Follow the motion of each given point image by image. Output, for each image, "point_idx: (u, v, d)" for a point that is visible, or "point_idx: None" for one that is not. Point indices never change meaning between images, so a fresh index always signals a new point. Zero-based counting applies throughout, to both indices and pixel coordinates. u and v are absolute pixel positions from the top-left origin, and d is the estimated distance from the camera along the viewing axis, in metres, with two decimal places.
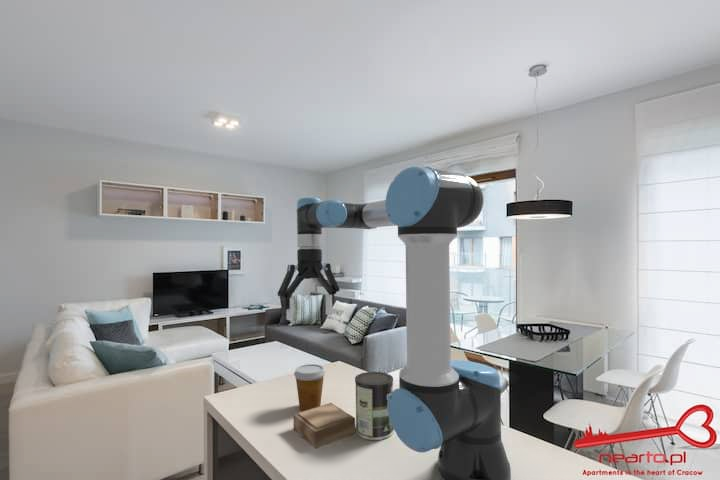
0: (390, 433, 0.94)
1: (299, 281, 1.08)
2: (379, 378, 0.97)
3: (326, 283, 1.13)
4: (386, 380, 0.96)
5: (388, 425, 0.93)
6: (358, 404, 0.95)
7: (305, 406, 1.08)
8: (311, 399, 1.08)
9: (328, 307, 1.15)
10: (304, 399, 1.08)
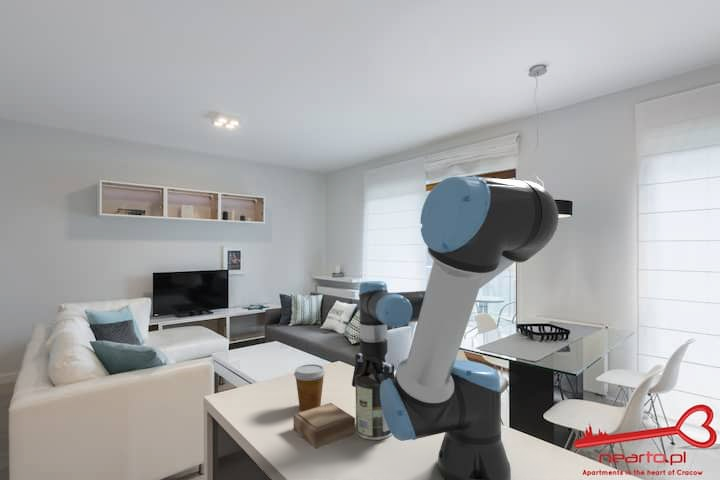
0: (390, 433, 0.94)
1: (362, 374, 0.99)
2: None
3: None
4: None
5: None
6: (358, 404, 0.95)
7: (305, 406, 1.08)
8: (311, 399, 1.08)
9: None
10: (304, 399, 1.08)
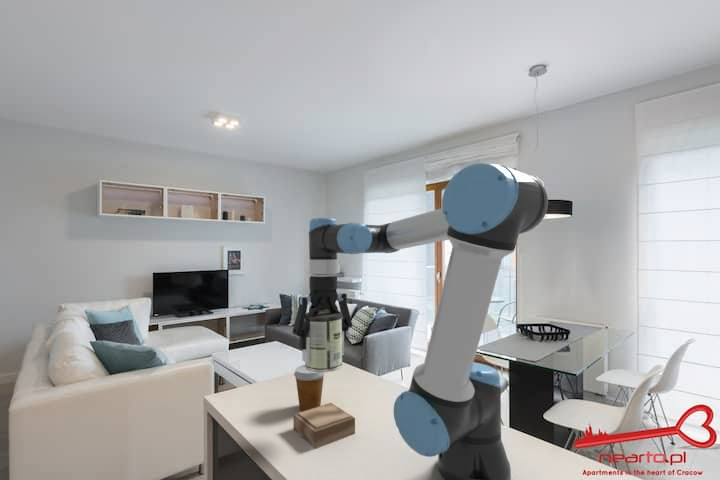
0: None
1: (314, 315, 0.95)
2: (324, 313, 0.99)
3: None
4: (330, 312, 1.01)
5: None
6: (331, 339, 0.93)
7: (305, 406, 1.08)
8: (311, 399, 1.08)
9: None
10: (304, 399, 1.08)
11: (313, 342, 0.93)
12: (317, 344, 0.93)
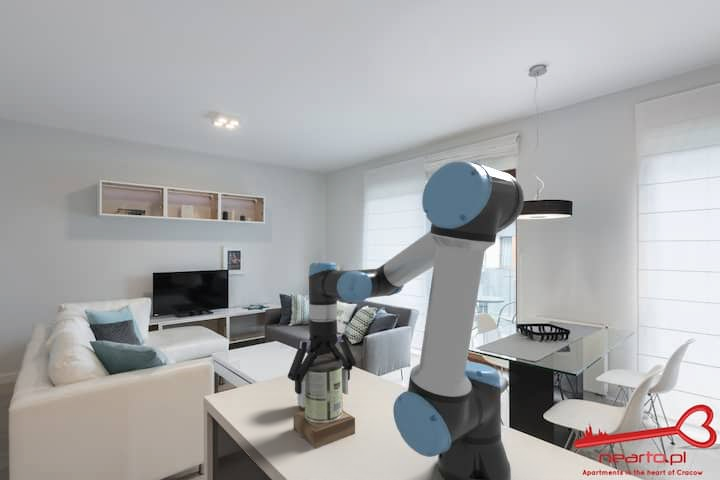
0: None
1: (312, 360, 0.94)
2: (324, 360, 0.99)
3: (341, 358, 0.99)
4: (330, 358, 1.01)
5: None
6: (332, 390, 0.93)
7: None
8: None
9: (343, 384, 1.01)
10: None
11: (313, 393, 0.93)
12: (317, 395, 0.92)
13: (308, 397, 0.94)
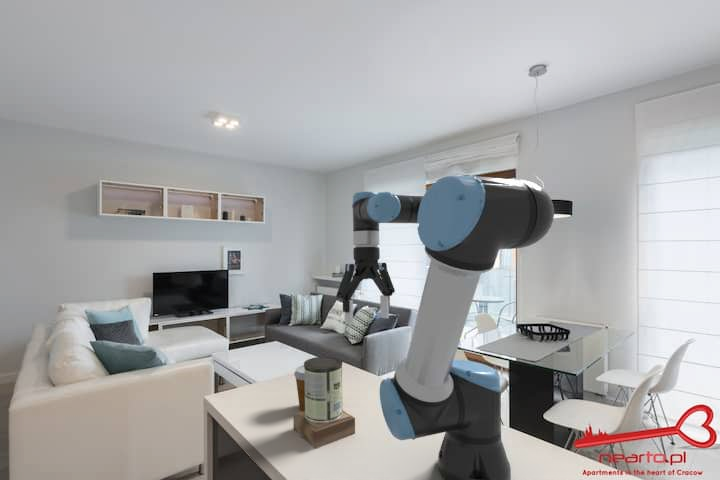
0: None
1: (358, 282, 1.00)
2: (323, 360, 0.99)
3: (383, 284, 1.06)
4: (330, 358, 1.01)
5: None
6: (331, 390, 0.93)
7: None
8: None
9: (384, 310, 1.07)
10: (304, 399, 1.08)
11: (313, 393, 0.93)
12: (317, 395, 0.92)
13: (308, 398, 0.94)
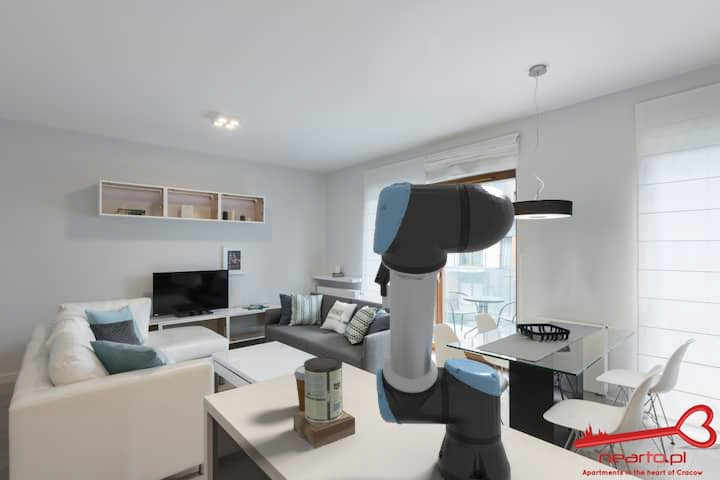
0: None
1: None
2: (324, 360, 0.99)
3: None
4: (330, 358, 1.01)
5: None
6: (332, 390, 0.93)
7: None
8: None
9: None
10: (304, 399, 1.08)
11: (313, 393, 0.93)
12: (317, 395, 0.92)
13: (308, 397, 0.94)
